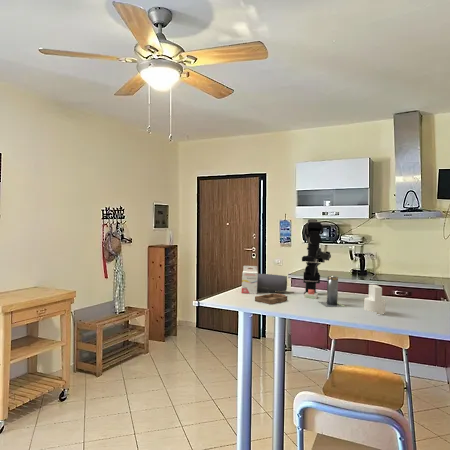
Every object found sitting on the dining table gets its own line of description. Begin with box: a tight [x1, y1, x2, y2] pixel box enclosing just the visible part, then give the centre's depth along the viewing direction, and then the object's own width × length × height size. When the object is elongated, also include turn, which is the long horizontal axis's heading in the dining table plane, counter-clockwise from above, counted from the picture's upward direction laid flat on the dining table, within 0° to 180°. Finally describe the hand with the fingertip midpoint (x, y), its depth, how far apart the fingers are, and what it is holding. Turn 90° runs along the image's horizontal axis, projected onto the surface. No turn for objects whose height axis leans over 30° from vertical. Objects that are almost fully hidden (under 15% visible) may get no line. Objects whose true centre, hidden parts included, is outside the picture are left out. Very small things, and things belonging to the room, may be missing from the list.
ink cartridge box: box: [241, 265, 259, 295], centre depth 223 cm, size 9×5×15 cm, turn 84°
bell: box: [326, 275, 339, 305], centre depth 192 cm, size 5×5×14 cm
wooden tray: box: [254, 293, 288, 305], centre depth 202 cm, size 14×10×2 cm
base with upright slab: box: [363, 284, 386, 315], centre depth 183 cm, size 9×9×12 cm
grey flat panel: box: [318, 301, 347, 308], centre depth 192 cm, size 12×10×1 cm
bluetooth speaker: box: [257, 273, 288, 294], centre depth 229 cm, size 23×9×10 cm, turn 77°
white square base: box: [303, 292, 319, 300], centre depth 209 cm, size 6×6×3 cm
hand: (313, 276), depth 207 cm, fingers closed
